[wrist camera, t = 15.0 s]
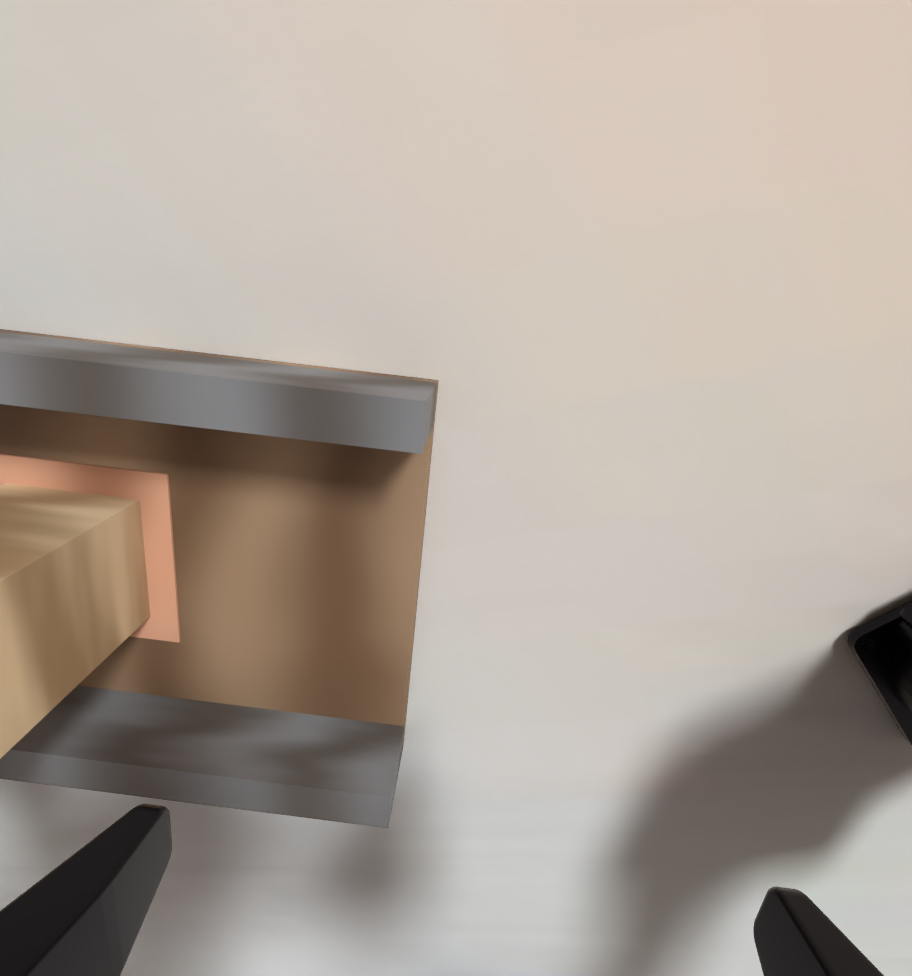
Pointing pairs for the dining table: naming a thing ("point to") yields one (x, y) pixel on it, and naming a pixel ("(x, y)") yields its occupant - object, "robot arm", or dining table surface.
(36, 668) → the oak block
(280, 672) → the bay
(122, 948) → the robot arm
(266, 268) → the dining table surface
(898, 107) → the dining table surface
